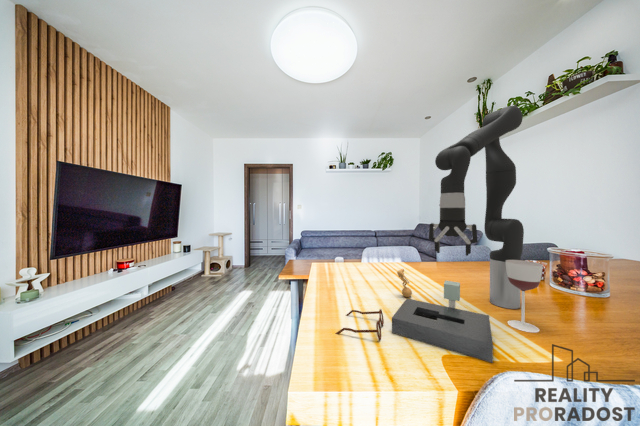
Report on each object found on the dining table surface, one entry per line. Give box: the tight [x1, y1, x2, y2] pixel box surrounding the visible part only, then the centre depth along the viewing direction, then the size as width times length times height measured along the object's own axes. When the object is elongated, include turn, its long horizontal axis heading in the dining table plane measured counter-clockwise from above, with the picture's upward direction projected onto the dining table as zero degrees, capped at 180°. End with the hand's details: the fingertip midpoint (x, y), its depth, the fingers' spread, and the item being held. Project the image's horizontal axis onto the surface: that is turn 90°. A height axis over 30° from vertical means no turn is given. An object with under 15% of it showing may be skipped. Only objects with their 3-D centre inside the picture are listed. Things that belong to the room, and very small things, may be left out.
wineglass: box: [506, 259, 543, 333], centre depth 71 cm, size 8×9×20 cm
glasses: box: [334, 308, 385, 341], centre depth 71 cm, size 13×13×5 cm
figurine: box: [396, 268, 413, 298], centre depth 95 cm, size 8×6×12 cm
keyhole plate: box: [391, 298, 494, 364], centre depth 68 cm, size 24×18×4 cm
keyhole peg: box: [443, 280, 461, 308], centre depth 78 cm, size 5×5×12 cm
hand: (452, 253), depth 77 cm, fingers open, 8 cm apart
